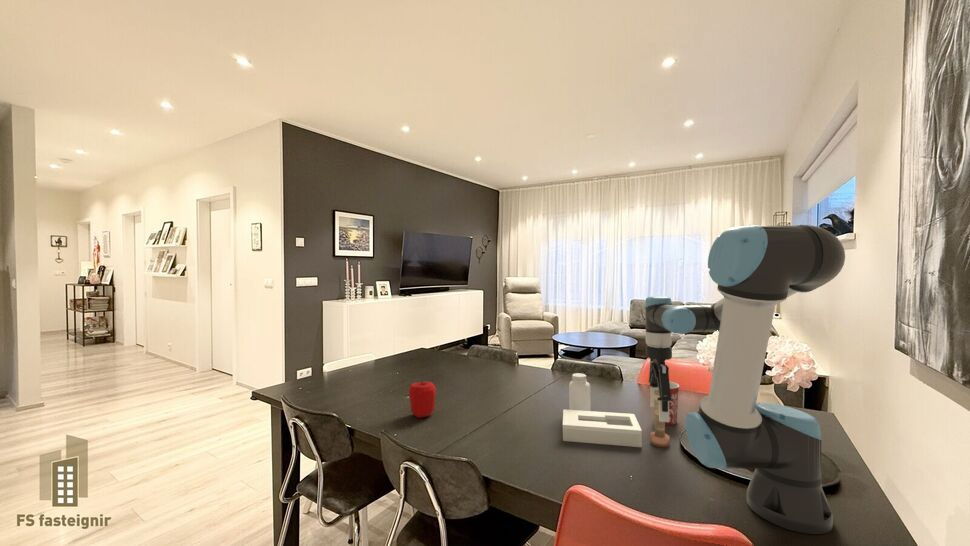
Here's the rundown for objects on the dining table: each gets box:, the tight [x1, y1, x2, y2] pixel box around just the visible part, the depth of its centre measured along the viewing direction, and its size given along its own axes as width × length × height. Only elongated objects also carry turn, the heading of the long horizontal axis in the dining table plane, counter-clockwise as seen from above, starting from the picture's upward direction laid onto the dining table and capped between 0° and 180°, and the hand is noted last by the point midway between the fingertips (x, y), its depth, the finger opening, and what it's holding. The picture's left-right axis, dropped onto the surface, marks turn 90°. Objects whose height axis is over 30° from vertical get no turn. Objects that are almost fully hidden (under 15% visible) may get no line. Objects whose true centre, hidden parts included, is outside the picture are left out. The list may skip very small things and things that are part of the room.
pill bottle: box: [568, 372, 592, 411], centre depth 146 cm, size 8×8×15 cm
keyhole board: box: [562, 408, 643, 448], centre depth 127 cm, size 14×24×5 cm, turn 77°
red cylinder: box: [408, 380, 437, 419], centre depth 146 cm, size 10×10×14 cm
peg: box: [649, 390, 671, 448], centre depth 120 cm, size 6×6×16 cm
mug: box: [665, 381, 680, 426], centre depth 139 cm, size 13×9×14 cm
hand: (659, 413), depth 120 cm, fingers open, 12 cm apart
